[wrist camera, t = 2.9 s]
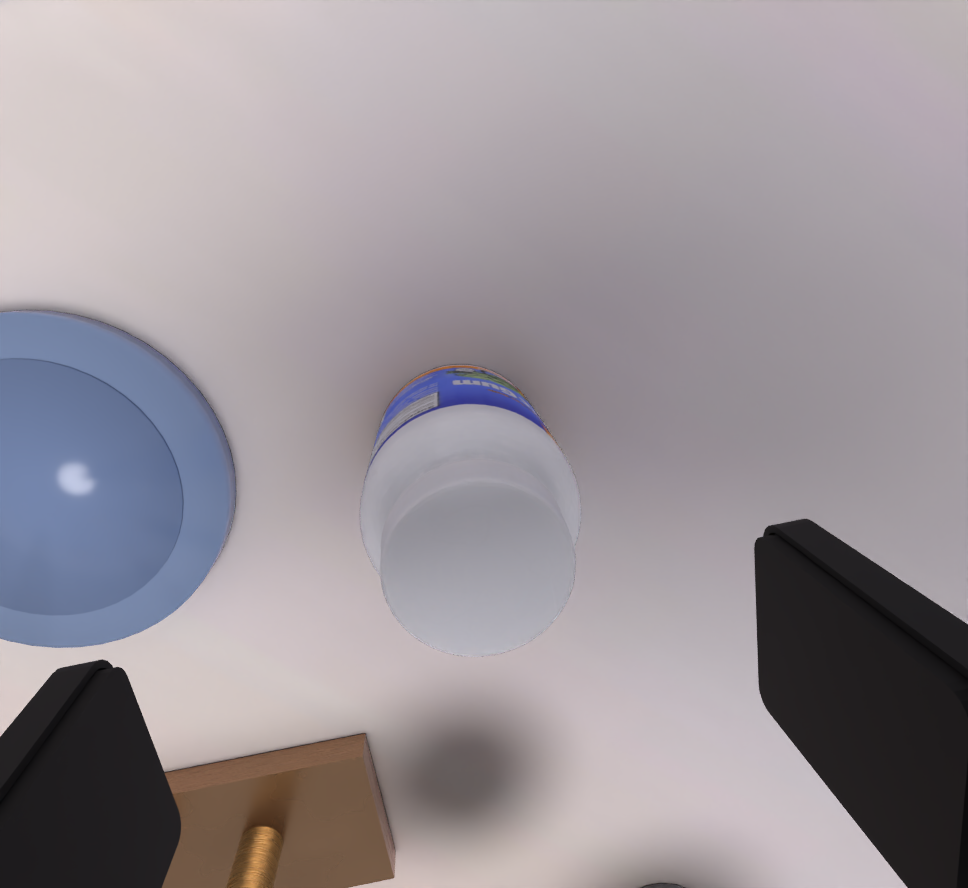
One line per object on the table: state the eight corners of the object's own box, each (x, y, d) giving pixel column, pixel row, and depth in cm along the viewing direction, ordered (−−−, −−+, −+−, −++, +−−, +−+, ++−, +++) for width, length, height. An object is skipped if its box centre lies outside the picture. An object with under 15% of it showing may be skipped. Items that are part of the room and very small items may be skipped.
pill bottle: (567, 430, 23) (671, 554, 13) (465, 542, 23) (496, 732, 14) (448, 326, 21) (470, 383, 12) (344, 449, 22) (288, 592, 13)
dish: (182, 282, 20) (165, 284, 19) (271, 595, 23) (263, 616, 22) (-186, 342, 19) (-229, 349, 18) (-43, 654, 23) (-71, 678, 21)
